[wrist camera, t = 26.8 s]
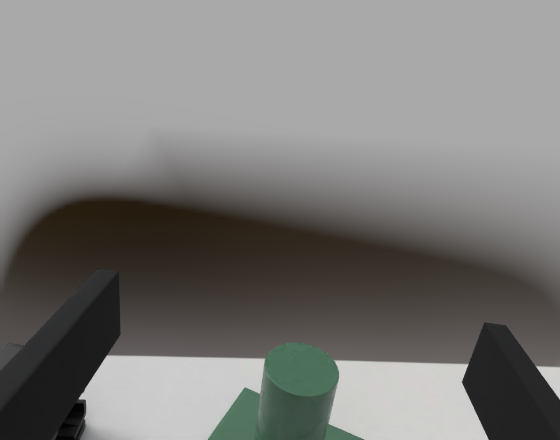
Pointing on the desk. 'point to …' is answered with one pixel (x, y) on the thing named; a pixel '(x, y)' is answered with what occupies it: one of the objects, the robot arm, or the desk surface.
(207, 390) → the desk surface
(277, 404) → the green tin
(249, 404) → the green mat
